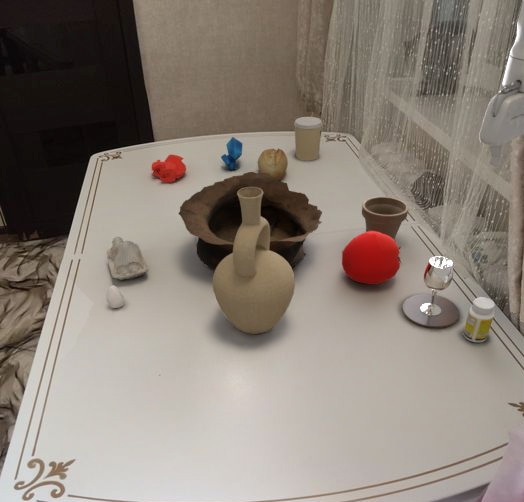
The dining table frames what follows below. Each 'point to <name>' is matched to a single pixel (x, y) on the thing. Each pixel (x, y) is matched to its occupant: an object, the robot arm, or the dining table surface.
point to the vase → (253, 273)
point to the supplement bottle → (479, 320)
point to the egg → (114, 297)
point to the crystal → (232, 153)
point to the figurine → (125, 259)
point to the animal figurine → (169, 168)
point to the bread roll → (273, 163)
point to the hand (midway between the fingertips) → (509, 157)
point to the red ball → (371, 258)
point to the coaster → (419, 318)
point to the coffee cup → (307, 138)
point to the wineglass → (437, 281)
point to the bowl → (230, 217)
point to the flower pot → (384, 214)
